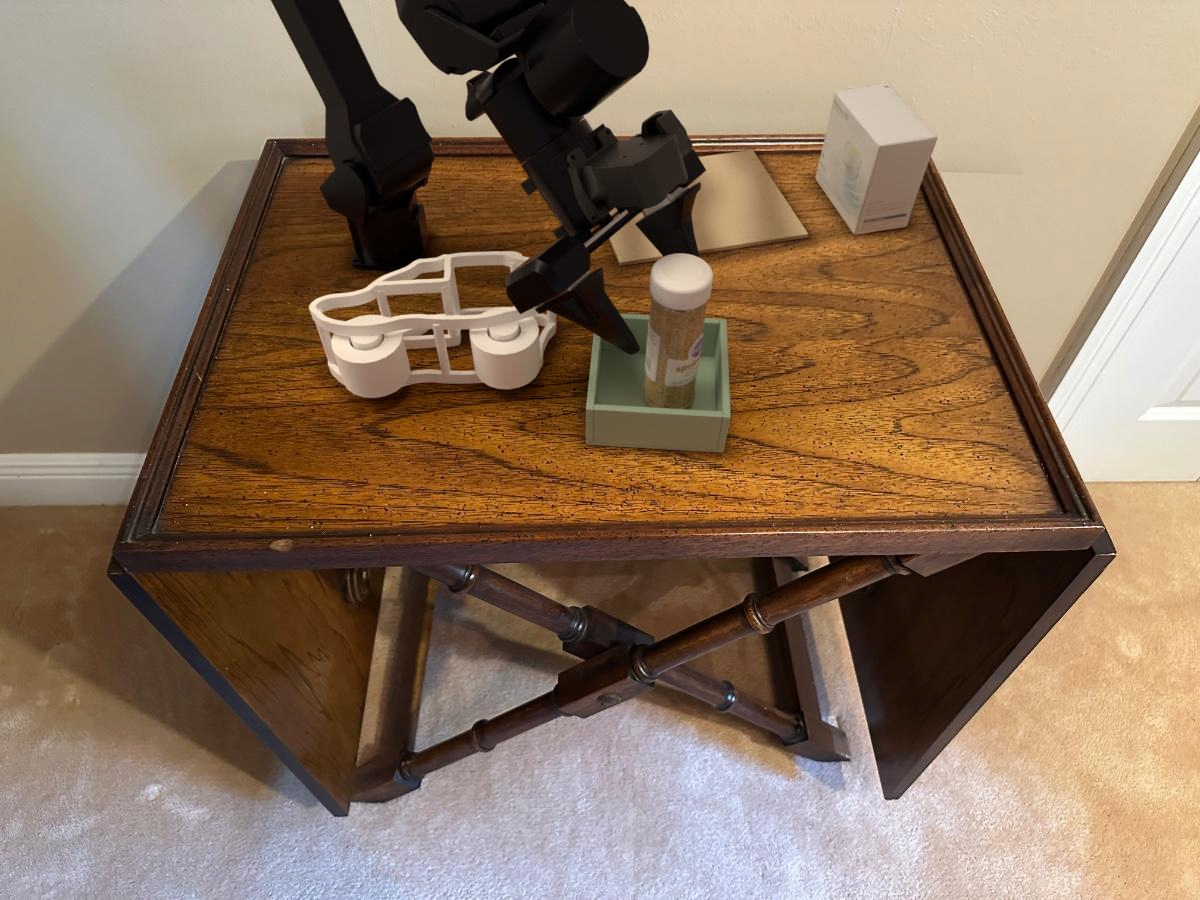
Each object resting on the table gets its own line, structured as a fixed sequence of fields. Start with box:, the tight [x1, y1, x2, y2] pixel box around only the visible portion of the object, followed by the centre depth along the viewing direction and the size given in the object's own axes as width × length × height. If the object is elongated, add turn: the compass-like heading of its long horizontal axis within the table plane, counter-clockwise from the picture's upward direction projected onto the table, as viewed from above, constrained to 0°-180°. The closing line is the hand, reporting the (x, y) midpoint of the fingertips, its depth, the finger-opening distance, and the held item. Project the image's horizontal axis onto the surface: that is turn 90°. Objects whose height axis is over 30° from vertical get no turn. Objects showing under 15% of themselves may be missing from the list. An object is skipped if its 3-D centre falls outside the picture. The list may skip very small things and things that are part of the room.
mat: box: [608, 149, 809, 267], centre depth 88 cm, size 20×16×1 cm
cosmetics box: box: [814, 82, 938, 236], centre depth 85 cm, size 10×6×10 cm, turn 14°
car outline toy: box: [308, 250, 557, 399], centre depth 70 cm, size 20×11×7 cm, turn 96°
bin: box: [585, 312, 732, 454], centre depth 69 cm, size 11×11×4 cm
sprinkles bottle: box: [643, 253, 714, 409], centre depth 65 cm, size 5×5×13 cm
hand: (669, 319), depth 64 cm, fingers open, 9 cm apart
